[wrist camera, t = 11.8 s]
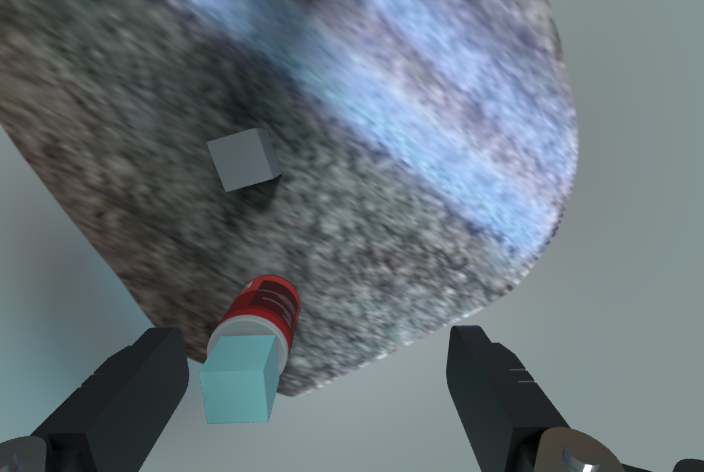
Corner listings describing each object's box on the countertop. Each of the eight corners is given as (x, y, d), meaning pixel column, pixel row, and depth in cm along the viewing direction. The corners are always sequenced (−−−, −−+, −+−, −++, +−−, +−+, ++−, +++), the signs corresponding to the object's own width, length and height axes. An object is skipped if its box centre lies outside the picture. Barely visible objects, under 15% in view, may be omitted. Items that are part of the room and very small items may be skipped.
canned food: (241, 328, 43) (208, 389, 32) (239, 270, 41) (203, 316, 30) (300, 330, 43) (287, 392, 33) (302, 273, 41) (288, 319, 31)
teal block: (221, 336, 31) (198, 372, 26) (275, 334, 31) (263, 370, 26) (227, 381, 32) (207, 423, 28) (279, 380, 32) (268, 421, 28)
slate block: (224, 141, 37) (206, 142, 32) (267, 129, 37) (255, 127, 32) (240, 185, 38) (225, 192, 33) (282, 173, 38) (273, 178, 33)
